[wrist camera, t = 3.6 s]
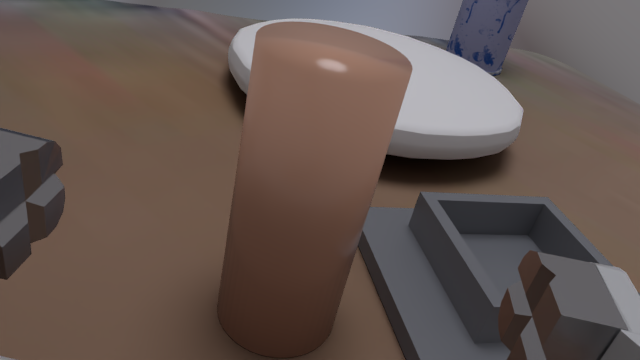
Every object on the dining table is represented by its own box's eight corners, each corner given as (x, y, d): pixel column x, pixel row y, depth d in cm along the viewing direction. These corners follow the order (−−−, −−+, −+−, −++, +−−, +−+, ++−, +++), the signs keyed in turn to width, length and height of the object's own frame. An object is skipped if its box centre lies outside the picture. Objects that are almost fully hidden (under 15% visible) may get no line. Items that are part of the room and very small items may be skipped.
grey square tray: (420, 395, 25) (447, 340, 23) (347, 220, 35) (362, 172, 33) (681, 374, 30) (722, 327, 28) (549, 225, 40) (572, 184, 38)
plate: (186, 4, 52) (394, 14, 66) (184, 69, 55) (383, 65, 69) (349, 106, 32) (597, 89, 46) (331, 200, 35) (570, 157, 49)
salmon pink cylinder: (221, 361, 24) (267, 73, 17) (213, 269, 29) (247, 13, 22) (346, 354, 26) (437, 91, 19) (319, 268, 31) (383, 32, 23)
